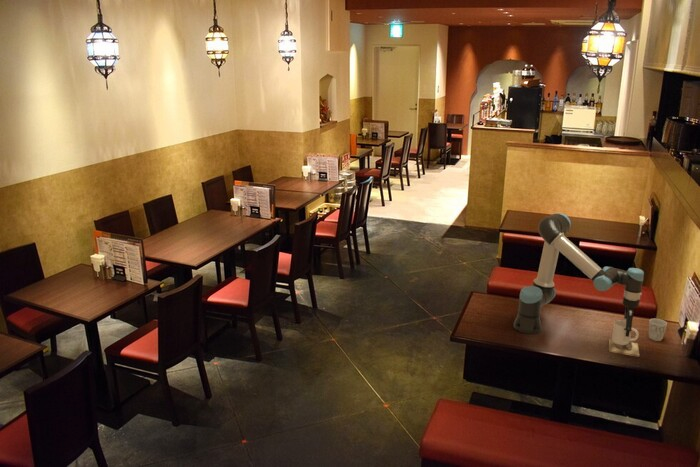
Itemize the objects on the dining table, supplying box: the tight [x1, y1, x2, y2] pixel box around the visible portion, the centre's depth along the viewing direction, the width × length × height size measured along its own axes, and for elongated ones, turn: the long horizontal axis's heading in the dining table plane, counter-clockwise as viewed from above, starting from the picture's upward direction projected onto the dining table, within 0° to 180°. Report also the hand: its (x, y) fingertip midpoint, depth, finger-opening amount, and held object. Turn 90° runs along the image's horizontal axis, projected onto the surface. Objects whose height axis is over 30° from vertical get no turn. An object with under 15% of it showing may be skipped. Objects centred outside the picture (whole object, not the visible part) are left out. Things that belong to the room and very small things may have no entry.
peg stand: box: [608, 338, 640, 358], centre depth 293 cm, size 14×14×4 cm
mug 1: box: [611, 319, 640, 345], centre depth 291 cm, size 12×8×10 cm
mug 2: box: [648, 318, 668, 342], centre depth 304 cm, size 11×8×10 cm
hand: (625, 335), depth 291 cm, fingers open, 13 cm apart
